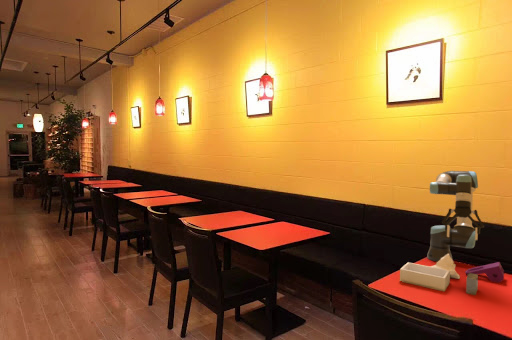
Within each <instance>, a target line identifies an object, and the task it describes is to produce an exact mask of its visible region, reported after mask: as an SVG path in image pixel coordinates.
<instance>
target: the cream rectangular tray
mask: <svg viewBox="0 0 512 340" xmlns="http://www.w3.org/2000/svg"><path fill="white" fill-rule="evenodd" d="M450 280H451V278H450V270H445V269H440V268H435V267H430V266H429V265H423V264H418V263H413V262H409V261H408V262H407V263H406V264H404V265H403V266H402V267H401V268H400V269H399V282H400V281H402V282H401V283H406V284H409V285H415V286H418V287H423V288H427V289H432V290H435V291H439V292H445V291H446V290H447V288H448V286H449V285H450V283H451V281H450Z"/></svg>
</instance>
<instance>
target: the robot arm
mask: <svg viewBox="0 0 512 340" xmlns="http://www.w3.org/2000/svg"><path fill="white" fill-rule="evenodd" d="M478 182H479V181H478V174H477V172H475V171H472V170H448V171H443V172H442V173H439V174H438V175H437V176H436V179H435V181H434V182H433V181H432V182H430V183H429V193H430V194H432V195H444V196H445V195H448V196H455V206H454V207H455V208H454V209H453V208H448V211H447V213H446V215H445V217H444V218H443V219H442V220H441V224H443V225H440V224H439V225H434V226H431V227H430V240H429V241H430V243H429V244H430V246H429V249H428V252H427V254H426V255H427V256H426V258H427V259H428V260H430V261H433V262H436V263H437V262H438V261H439V260H441V258H442V257H444V256H445V255H447V254H449V255H450V257H451V259H452V260H453V256H452V253H451V250H450V249H451V247H457V248H464V249H473V248H474V247H475V246H476V241H478V237H479V236H478V235H480V234H481V228H485V225H484V224H483V223H484V222H482V219H481V218H480V216H479V213H478V210H477V209H474V210H473V201H474V200H473V198H474V197H473V196H474V195H473V194H474V192H475V191H476V189H478V188H479V184H478ZM452 213H455V214H454V215H453V216H452V217H450V216H451V215H452ZM473 215H475V218H476V219H477V221H478V223H477V222H476V220H475V219H473V218H474V217H473ZM449 218H450V219H449ZM454 220H456V224H455V225H454V226H453V228H451V226H450V225H451V223H452V222H453V221H454ZM473 224H474V226H475V227H474V226H473Z"/></svg>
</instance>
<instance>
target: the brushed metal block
mask: <svg viewBox="0 0 512 340" xmlns="http://www.w3.org/2000/svg"><path fill="white" fill-rule="evenodd" d="M478 284H479V274H478V275H477V274H472V273H469V274H468V276H467V275H466V283H465V285H466V286H465V287H466V289H465V292H466V294H468V295H472V296H476V295H477V291H478V288H479V287H478V286H479V285H478Z"/></svg>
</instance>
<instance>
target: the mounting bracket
mask: <svg viewBox="0 0 512 340" xmlns="http://www.w3.org/2000/svg"><path fill="white" fill-rule="evenodd" d="M464 272H465V274H466V277H467V276H468V274H469V273H472V274H477V275H478V276H479V275H481V274H485V276H486V277H487V278H488V280H489V281H491V282H493V283H501V282H503V280H504V278H505V270H504V269H503V266H502V265H501V262H500V261H497V262H494V263H493V262H492V263H488V264H485V265H484V264H483V265H479V266H475V267H471V268H468V269H466V270H465V271H464Z"/></svg>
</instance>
